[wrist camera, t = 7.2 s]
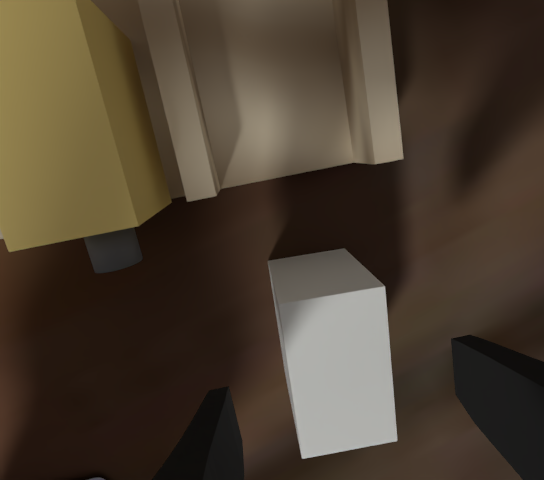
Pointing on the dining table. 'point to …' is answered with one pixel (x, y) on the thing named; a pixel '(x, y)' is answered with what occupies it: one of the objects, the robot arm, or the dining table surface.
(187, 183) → the birch comb rack
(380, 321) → the grey plug
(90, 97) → the mustard plug
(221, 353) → the dining table surface
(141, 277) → the dining table surface
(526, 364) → the robot arm
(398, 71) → the dining table surface
